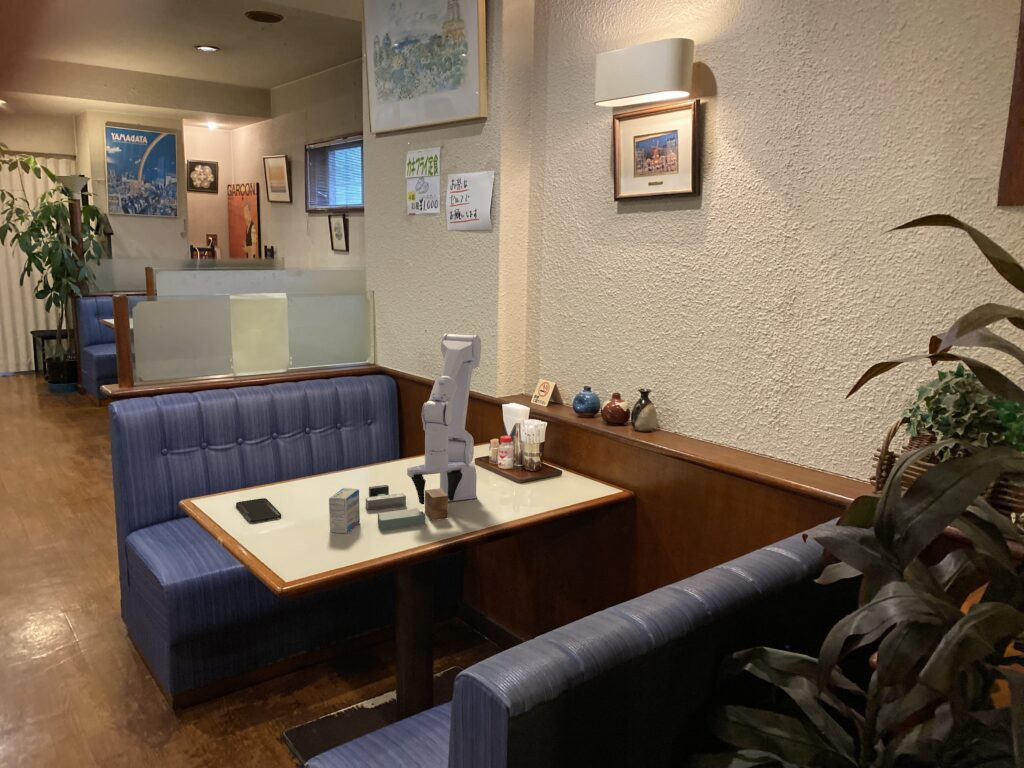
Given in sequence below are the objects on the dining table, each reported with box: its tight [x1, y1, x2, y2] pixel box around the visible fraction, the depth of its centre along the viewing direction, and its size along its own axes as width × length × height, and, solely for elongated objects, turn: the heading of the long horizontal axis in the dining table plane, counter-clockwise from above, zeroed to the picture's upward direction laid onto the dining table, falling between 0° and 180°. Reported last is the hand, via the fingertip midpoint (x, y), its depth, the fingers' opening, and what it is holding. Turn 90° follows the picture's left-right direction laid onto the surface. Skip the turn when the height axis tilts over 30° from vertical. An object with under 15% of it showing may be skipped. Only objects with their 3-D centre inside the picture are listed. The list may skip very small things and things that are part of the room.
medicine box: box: [328, 487, 361, 534], centre depth 183 cm, size 8×4×9 cm, turn 168°
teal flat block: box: [377, 507, 426, 531], centre depth 187 cm, size 11×5×2 cm, turn 115°
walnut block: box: [424, 488, 449, 521], centre depth 193 cm, size 4×6×6 cm, turn 25°
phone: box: [235, 497, 282, 524], centre depth 193 cm, size 8×1×15 cm
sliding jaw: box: [365, 484, 407, 511], centre depth 201 cm, size 10×9×3 cm
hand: (436, 501), depth 192 cm, fingers open, 7 cm apart
